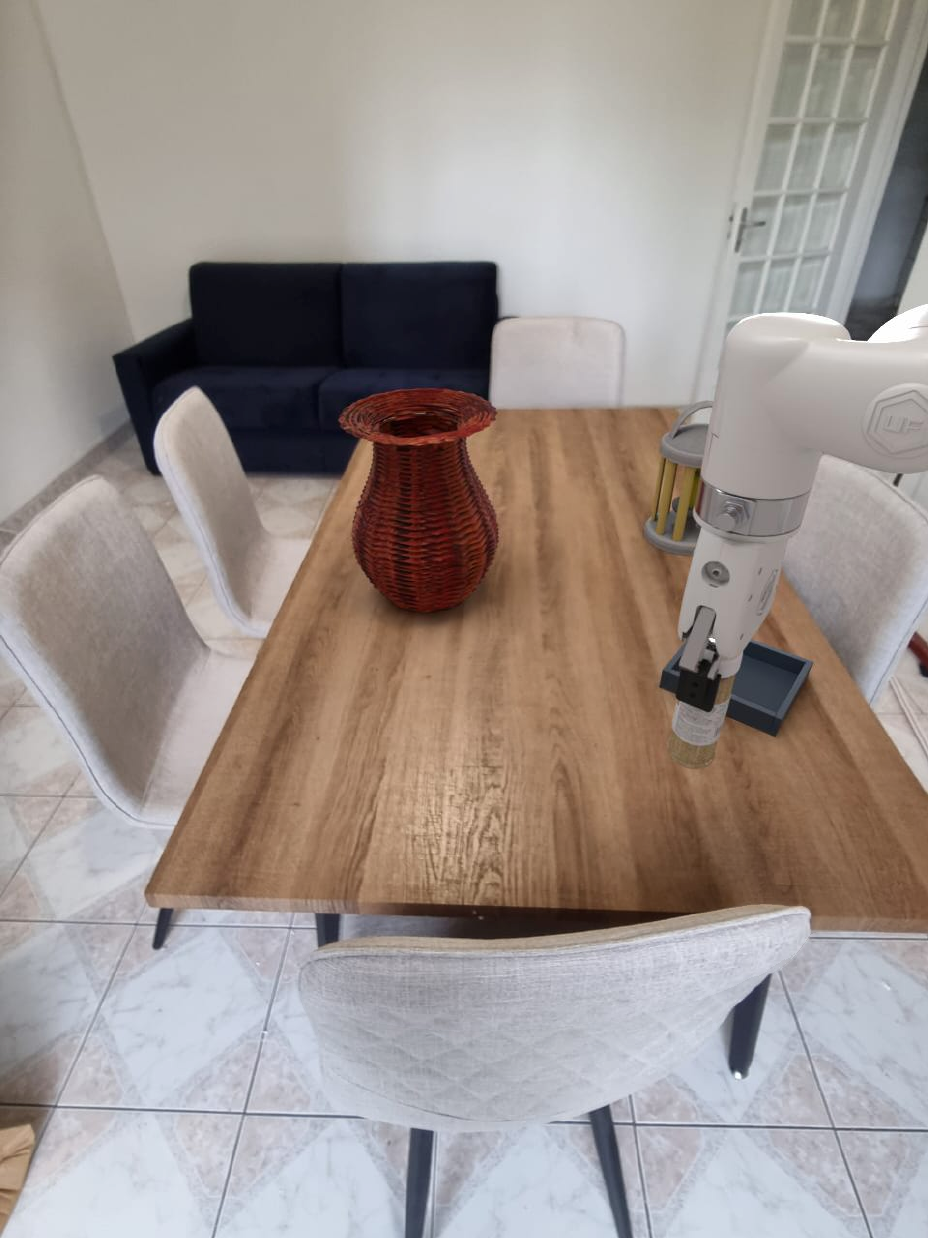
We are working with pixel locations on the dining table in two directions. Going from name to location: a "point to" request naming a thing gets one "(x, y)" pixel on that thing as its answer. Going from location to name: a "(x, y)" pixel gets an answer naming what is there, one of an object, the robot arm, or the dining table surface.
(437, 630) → the dining table surface
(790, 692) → the tray
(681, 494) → the lantern
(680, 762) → the sprinkles bottle
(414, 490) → the vase
